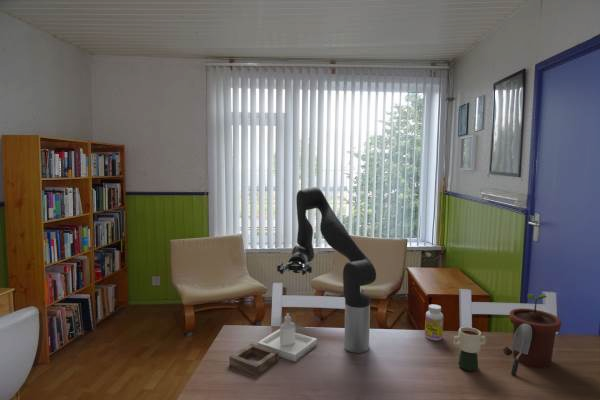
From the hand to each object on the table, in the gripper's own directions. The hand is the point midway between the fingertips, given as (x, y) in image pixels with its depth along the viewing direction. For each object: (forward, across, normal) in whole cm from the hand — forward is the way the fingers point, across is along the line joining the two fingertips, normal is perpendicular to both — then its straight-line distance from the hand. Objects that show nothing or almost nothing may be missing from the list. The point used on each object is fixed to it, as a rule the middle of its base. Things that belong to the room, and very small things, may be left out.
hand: (292, 272), depth 159 cm
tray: (+11, 0, +26) cm, 28 cm away
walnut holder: (+24, -10, +26) cm, 37 cm away
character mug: (+16, +64, +26) cm, 71 cm away
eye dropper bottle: (+11, 0, +25) cm, 27 cm away
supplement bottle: (-6, +56, +26) cm, 62 cm away
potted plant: (+9, +85, +27) cm, 89 cm away
